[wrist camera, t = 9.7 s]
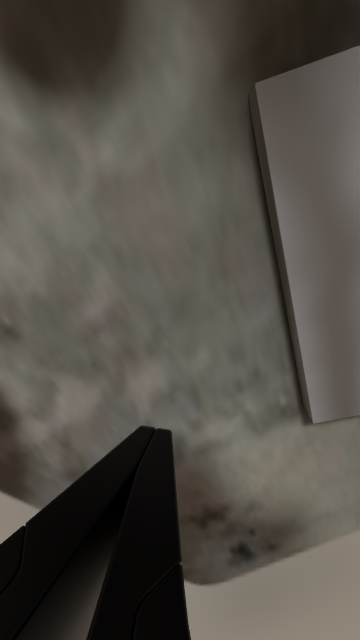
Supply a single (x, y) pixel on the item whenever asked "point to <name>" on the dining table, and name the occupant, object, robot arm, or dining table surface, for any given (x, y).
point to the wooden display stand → (316, 220)
